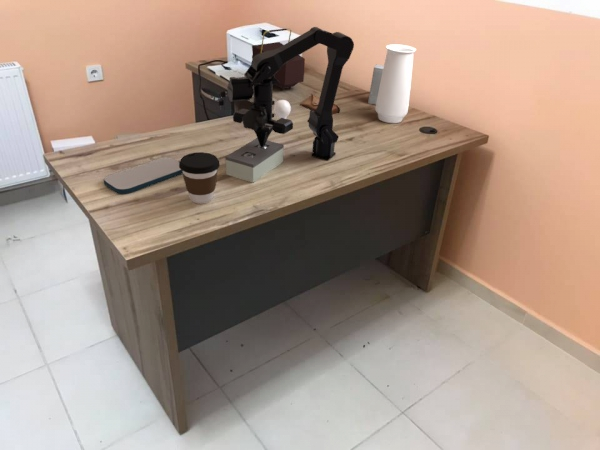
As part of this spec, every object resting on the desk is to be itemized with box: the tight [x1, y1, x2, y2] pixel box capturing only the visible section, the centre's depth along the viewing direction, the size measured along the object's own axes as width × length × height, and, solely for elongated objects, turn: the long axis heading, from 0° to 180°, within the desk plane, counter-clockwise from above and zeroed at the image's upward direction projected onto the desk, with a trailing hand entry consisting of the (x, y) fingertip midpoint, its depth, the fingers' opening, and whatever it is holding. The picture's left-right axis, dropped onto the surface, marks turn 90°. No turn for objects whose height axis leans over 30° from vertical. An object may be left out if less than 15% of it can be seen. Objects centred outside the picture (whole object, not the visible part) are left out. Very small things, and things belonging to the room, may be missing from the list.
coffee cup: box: [179, 151, 221, 205], centre depth 137 cm, size 11×11×12 cm
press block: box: [225, 137, 285, 183], centre depth 157 cm, size 10×18×6 cm, turn 152°
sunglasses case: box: [299, 93, 341, 116], centre depth 208 cm, size 18×7×7 cm
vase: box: [374, 44, 417, 124], centre depth 195 cm, size 13×13×28 cm
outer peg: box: [244, 153, 253, 158], centre depth 153 cm, size 3×3×6 cm
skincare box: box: [367, 64, 384, 106], centre depth 214 cm, size 8×7×16 cm
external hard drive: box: [103, 156, 183, 195], centre depth 149 cm, size 24×12×2 cm, turn 138°
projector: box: [251, 28, 306, 91], centre depth 225 cm, size 16×23×25 cm
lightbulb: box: [273, 99, 292, 120], centre depth 185 cm, size 6×6×11 cm
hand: (262, 146), depth 158 cm, fingers closed, pressing on inner peg
